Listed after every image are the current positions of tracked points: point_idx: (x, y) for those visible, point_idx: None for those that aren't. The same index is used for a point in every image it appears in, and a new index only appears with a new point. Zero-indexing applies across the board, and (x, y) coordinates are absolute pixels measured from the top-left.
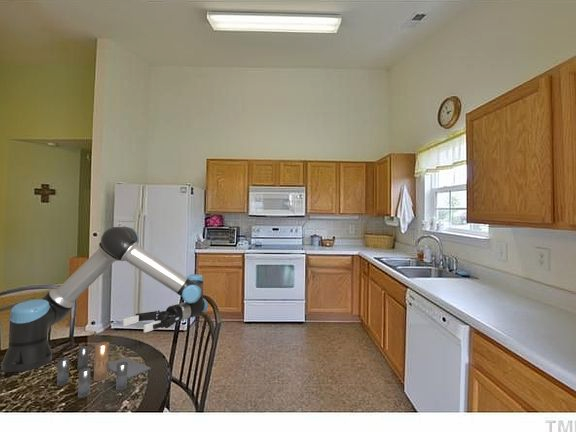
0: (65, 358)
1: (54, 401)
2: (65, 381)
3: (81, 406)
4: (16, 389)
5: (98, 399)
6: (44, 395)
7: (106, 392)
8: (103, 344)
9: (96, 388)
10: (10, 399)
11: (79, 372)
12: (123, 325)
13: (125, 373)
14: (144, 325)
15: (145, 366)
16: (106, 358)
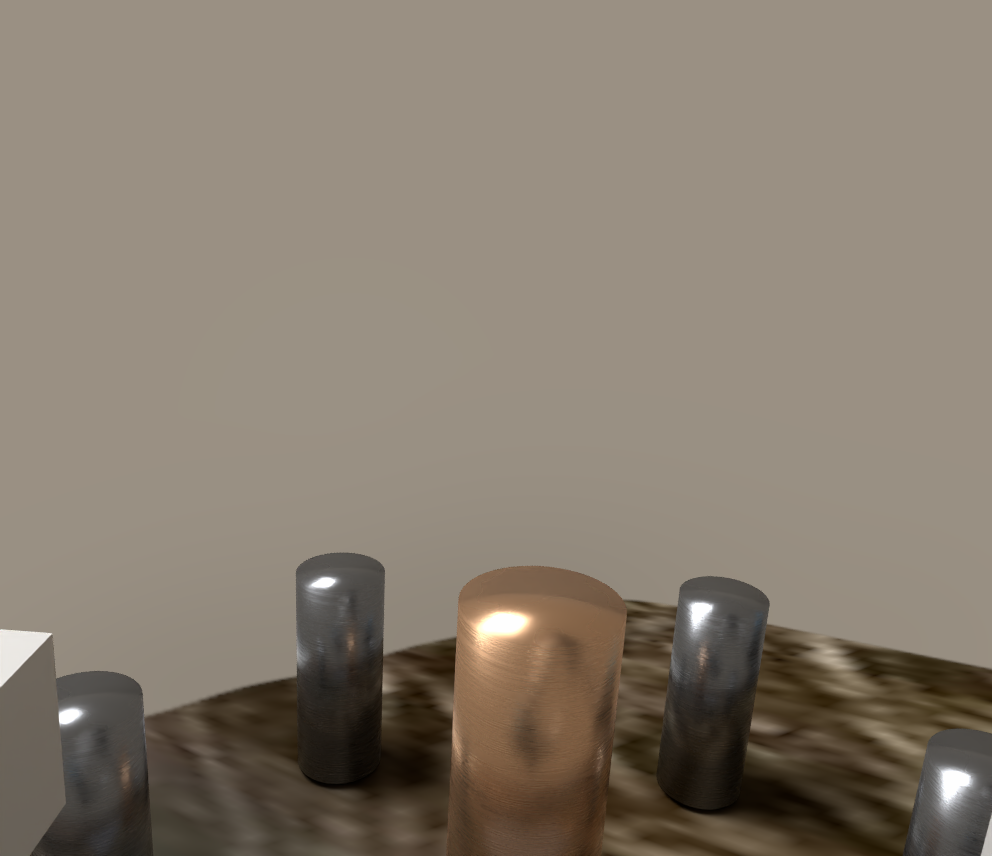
0: (739, 606)
1: None
2: (661, 761)
3: (226, 704)
4: (834, 665)
5: (179, 776)
6: None
7: (200, 848)
8: (509, 600)
9: (355, 850)
10: None
11: (350, 558)
12: (987, 853)
13: None
14: (23, 638)
15: None
16: (453, 767)
